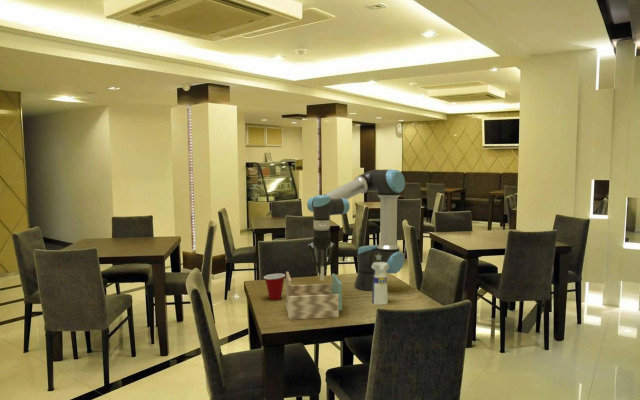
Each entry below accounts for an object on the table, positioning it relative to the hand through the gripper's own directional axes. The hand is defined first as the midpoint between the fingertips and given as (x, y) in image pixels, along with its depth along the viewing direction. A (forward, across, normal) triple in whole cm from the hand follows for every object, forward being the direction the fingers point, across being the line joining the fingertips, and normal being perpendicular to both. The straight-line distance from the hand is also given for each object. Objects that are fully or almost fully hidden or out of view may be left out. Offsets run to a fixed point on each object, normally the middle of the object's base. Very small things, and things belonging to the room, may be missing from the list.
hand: (322, 280), depth 216 cm
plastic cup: (+15, -21, +24) cm, 35 cm away
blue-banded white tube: (+15, +30, +9) cm, 35 cm away
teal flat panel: (+11, +7, 0) cm, 14 cm away
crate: (+14, -5, 0) cm, 15 cm away
